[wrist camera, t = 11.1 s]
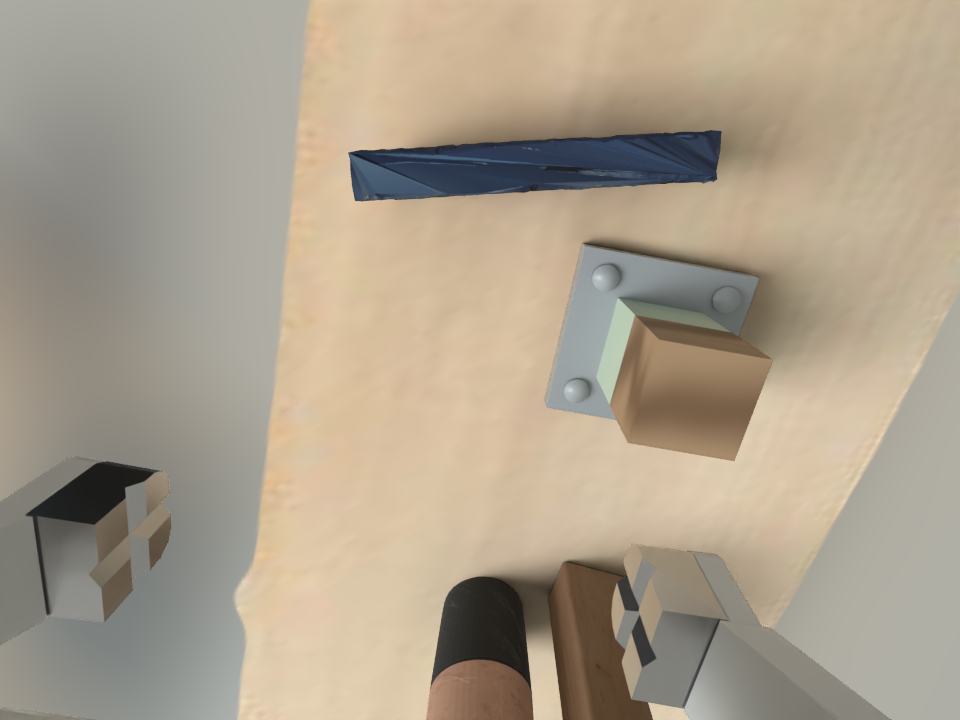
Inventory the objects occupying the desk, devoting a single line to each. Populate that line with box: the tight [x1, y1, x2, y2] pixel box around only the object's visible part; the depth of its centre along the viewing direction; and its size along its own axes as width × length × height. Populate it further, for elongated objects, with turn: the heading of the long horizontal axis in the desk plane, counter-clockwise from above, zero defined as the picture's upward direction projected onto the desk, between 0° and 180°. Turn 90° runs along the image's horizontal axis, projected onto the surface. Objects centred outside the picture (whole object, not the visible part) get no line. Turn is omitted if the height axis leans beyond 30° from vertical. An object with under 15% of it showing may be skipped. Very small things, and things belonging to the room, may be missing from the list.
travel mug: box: [426, 577, 533, 720], centre depth 38 cm, size 8×8×20 cm
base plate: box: [545, 243, 759, 420], centre depth 38 cm, size 12×12×2 cm
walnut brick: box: [610, 315, 773, 461], centre depth 31 cm, size 6×6×5 cm
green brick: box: [596, 298, 730, 405], centre depth 35 cm, size 6×6×5 cm
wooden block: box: [548, 562, 653, 720], centre depth 38 cm, size 9×4×18 cm, turn 74°
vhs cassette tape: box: [348, 130, 721, 201], centre depth 31 cm, size 18×3×10 cm, turn 92°
